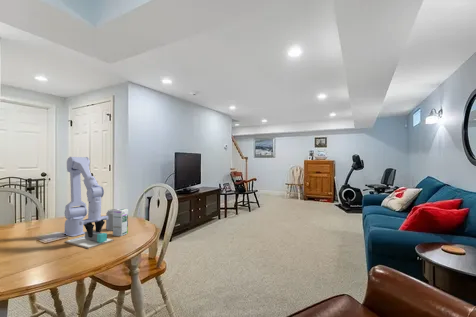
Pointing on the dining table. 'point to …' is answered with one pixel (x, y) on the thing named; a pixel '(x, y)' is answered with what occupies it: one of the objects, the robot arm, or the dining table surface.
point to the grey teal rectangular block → (97, 236)
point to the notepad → (86, 242)
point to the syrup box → (120, 222)
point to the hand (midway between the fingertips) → (94, 236)
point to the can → (109, 220)
